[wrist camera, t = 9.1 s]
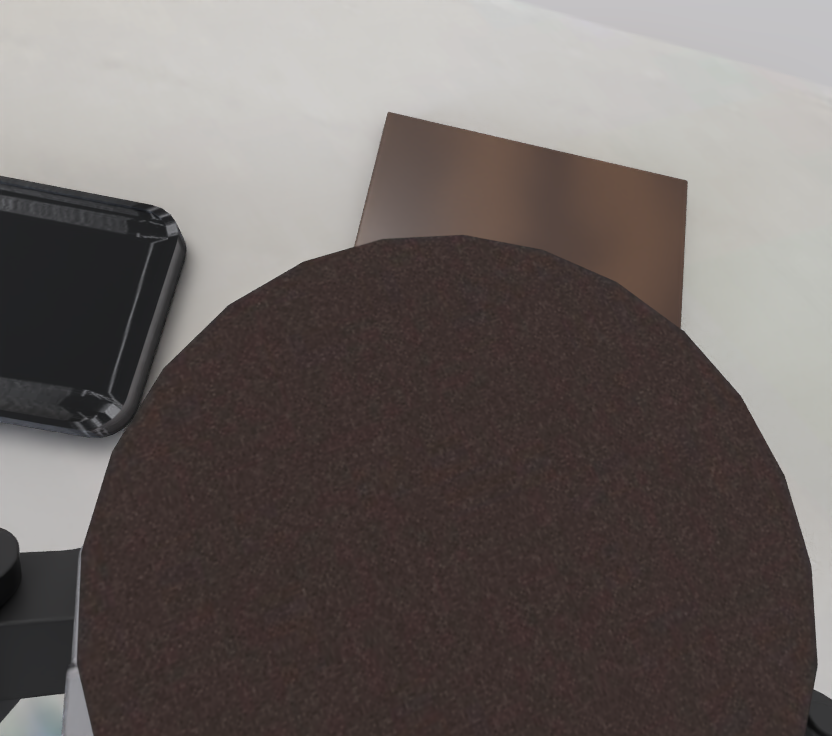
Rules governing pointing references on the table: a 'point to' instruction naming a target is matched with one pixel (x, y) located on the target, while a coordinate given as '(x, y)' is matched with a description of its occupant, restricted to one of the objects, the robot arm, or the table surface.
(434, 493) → the deodorant
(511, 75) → the table surface
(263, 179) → the table surface
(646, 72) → the table surface
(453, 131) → the walnut board
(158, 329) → the phone
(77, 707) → the robot arm
